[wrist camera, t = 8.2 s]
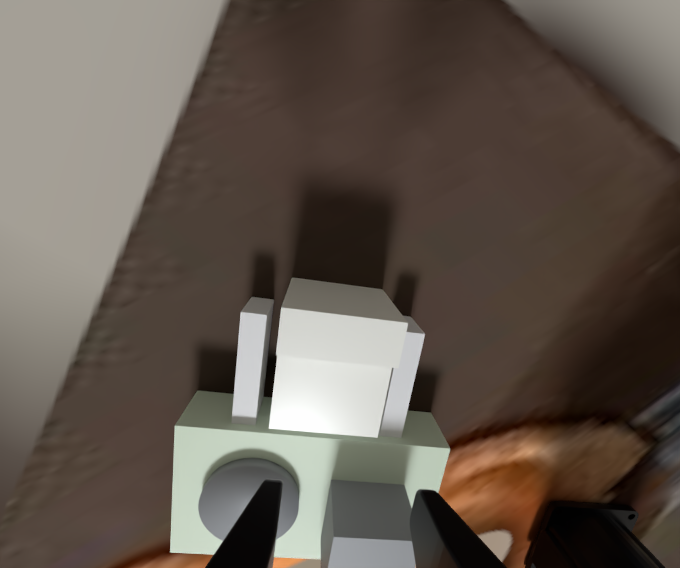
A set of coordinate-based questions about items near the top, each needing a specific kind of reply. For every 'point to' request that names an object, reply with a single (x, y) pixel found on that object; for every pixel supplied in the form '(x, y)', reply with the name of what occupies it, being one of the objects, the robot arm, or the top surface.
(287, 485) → the green block with prongs
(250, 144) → the top surface
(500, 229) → the top surface
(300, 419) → the white lidded box
